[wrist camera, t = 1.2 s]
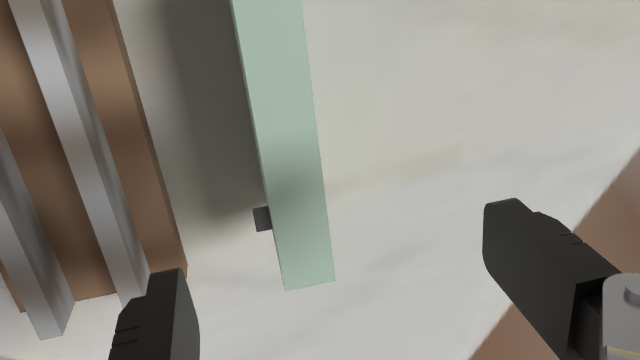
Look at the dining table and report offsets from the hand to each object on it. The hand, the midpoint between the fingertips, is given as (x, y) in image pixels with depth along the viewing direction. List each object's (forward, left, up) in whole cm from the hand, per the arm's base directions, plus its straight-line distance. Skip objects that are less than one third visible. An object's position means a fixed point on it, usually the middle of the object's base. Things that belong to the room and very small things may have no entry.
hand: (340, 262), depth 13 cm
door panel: (0, 0, -18) cm, 18 cm away
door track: (0, -12, -18) cm, 22 cm away
